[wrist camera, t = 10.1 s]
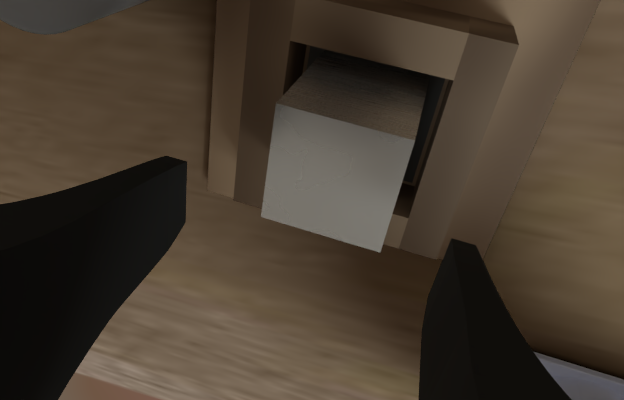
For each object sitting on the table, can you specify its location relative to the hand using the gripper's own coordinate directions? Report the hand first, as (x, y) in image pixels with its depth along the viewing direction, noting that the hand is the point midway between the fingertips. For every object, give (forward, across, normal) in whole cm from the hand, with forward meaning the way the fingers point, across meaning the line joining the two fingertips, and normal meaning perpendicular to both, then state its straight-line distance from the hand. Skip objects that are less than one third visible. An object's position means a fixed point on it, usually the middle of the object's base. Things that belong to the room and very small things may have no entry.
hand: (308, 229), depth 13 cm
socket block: (+9, 0, 0) cm, 9 cm away
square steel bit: (+8, 0, 0) cm, 8 cm away
